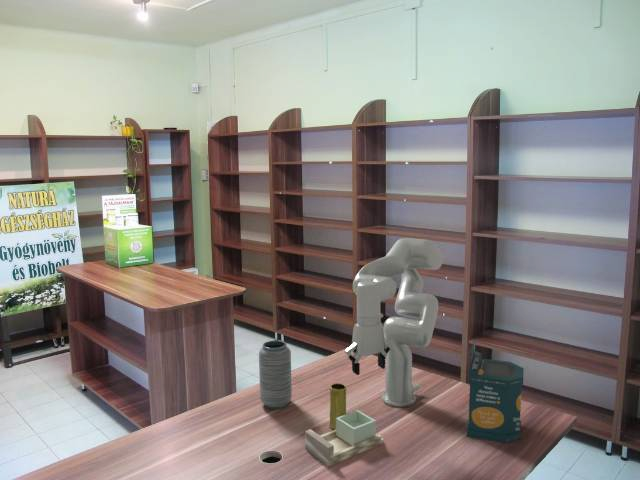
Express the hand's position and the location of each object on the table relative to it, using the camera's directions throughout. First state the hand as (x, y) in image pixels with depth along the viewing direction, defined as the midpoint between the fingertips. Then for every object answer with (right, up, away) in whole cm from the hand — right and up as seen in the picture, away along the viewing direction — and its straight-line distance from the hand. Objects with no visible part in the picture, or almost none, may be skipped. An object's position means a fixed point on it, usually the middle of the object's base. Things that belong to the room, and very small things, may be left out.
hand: (368, 370), depth 175 cm
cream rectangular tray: (-8, -23, -5) cm, 24 cm away
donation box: (+42, -21, +4) cm, 47 cm away
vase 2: (-10, -21, +7) cm, 24 cm away
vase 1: (-32, -18, +24) cm, 44 cm away
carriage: (-4, -21, -3) cm, 21 cm away
